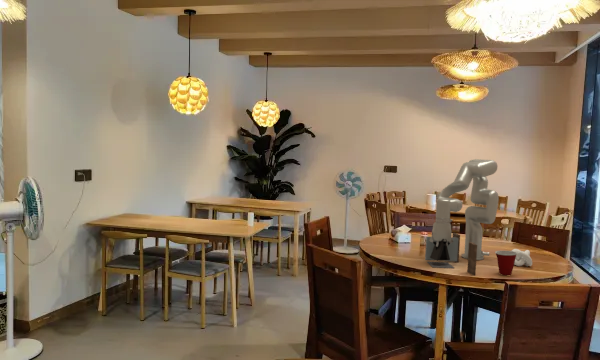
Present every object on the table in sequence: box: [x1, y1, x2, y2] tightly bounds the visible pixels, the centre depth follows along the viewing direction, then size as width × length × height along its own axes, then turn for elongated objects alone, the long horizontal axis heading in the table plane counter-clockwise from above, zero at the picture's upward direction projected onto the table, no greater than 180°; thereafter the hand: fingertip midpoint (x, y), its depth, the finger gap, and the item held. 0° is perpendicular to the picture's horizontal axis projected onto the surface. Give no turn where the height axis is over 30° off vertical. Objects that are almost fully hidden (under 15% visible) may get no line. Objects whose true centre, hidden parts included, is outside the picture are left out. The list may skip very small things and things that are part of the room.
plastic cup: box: [494, 250, 517, 276], centre depth 232 cm, size 11×11×12 cm
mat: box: [426, 261, 455, 269], centre depth 247 cm, size 12×12×1 cm
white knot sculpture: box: [511, 248, 533, 267], centre depth 254 cm, size 11×12×9 cm
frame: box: [452, 232, 477, 276], centre depth 245 cm, size 2×35×16 cm, turn 178°
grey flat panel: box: [424, 236, 458, 262], centre depth 254 cm, size 2×18×14 cm, turn 88°
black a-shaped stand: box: [430, 239, 450, 262], centre depth 247 cm, size 9×6×12 cm, turn 111°
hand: (440, 253), depth 247 cm, fingers closed on black a-shaped stand, 3 cm apart
